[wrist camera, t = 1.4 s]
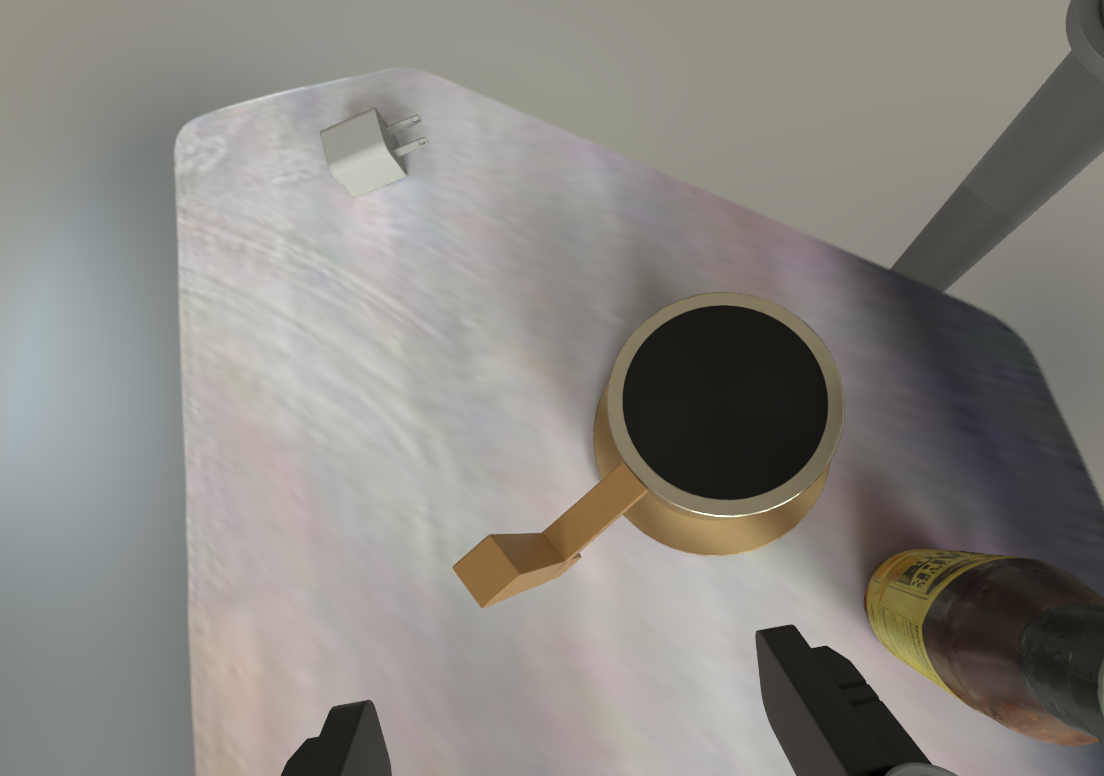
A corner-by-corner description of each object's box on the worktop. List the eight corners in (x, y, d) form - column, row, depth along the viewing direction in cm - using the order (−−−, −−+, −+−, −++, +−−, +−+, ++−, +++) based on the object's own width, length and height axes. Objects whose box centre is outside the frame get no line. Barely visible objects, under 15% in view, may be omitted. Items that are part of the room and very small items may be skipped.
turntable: (712, 287, 40) (713, 282, 39) (881, 448, 36) (886, 446, 35) (551, 429, 40) (548, 427, 39) (701, 606, 36) (702, 608, 35)
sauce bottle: (971, 547, 34) (1349, 570, 15) (990, 669, 33) (1433, 865, 14) (845, 547, 35) (1044, 567, 16) (857, 664, 34) (1092, 838, 15)
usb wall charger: (346, 159, 48) (318, 126, 44) (427, 124, 47) (405, 88, 43) (357, 201, 47) (330, 172, 43) (440, 166, 46) (419, 133, 42)
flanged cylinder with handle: (714, 323, 39) (750, 140, 20) (835, 441, 36) (1003, 350, 18) (517, 495, 39) (377, 466, 20) (622, 628, 36) (569, 730, 18)
